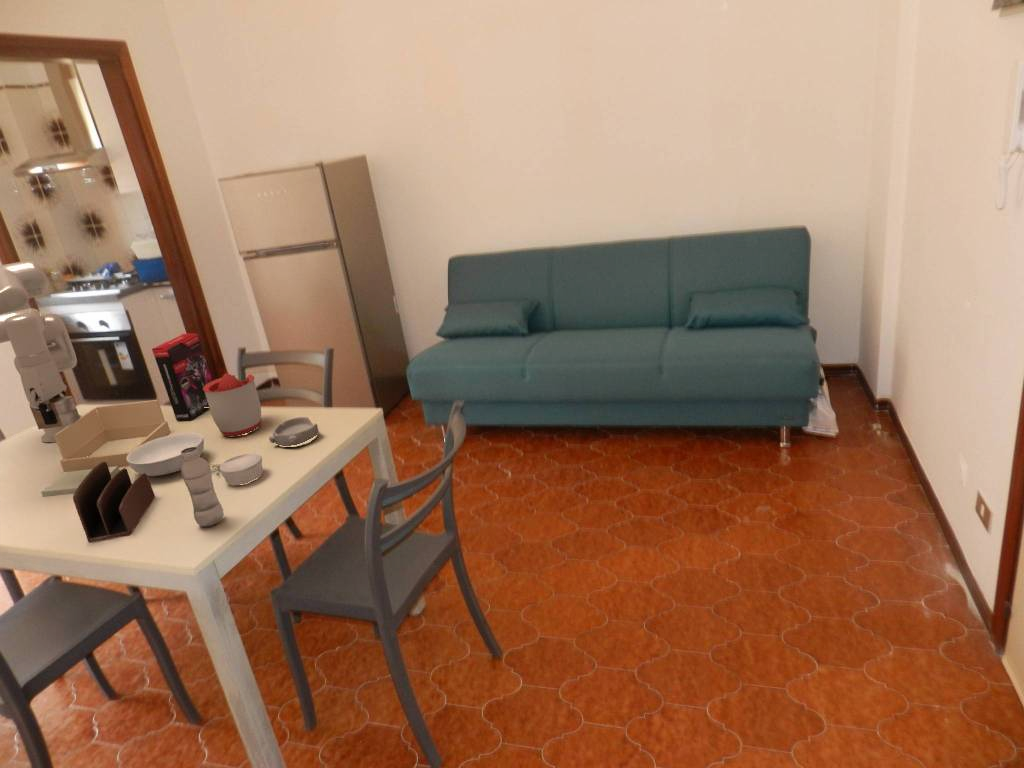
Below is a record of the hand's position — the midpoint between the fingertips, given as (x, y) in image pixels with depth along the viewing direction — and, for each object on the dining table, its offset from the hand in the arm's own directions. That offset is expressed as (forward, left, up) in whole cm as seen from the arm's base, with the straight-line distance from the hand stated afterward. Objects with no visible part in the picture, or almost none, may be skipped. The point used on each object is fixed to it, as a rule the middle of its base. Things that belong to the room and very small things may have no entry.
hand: (57, 419), depth 194 cm
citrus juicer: (-28, +38, -21) cm, 52 cm away
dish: (-14, +60, -21) cm, 65 cm away
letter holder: (+25, +26, -21) cm, 41 cm away
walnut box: (0, 0, -1) cm, 1 cm away
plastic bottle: (+32, +52, -21) cm, 64 cm away
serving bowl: (-4, +25, -21) cm, 33 cm away
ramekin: (+9, +52, -21) cm, 57 cm away
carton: (-21, 0, -21) cm, 29 cm away
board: (0, 0, -21) cm, 21 cm away
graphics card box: (-50, +13, -21) cm, 56 cm away
